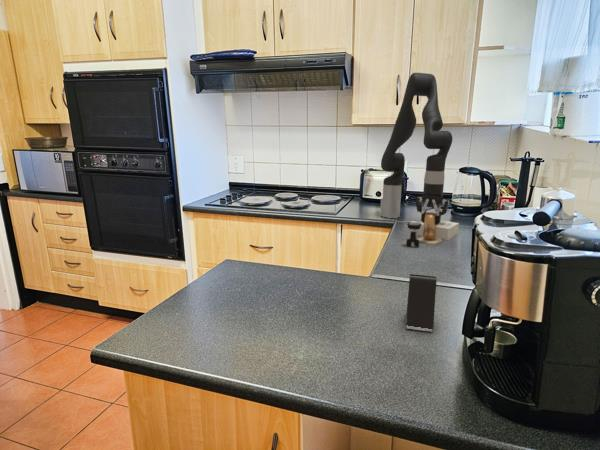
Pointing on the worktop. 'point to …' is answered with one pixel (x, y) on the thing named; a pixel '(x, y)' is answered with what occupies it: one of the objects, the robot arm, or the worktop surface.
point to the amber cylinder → (429, 226)
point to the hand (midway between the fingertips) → (430, 223)
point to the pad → (429, 241)
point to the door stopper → (421, 301)
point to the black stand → (413, 234)
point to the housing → (443, 230)
